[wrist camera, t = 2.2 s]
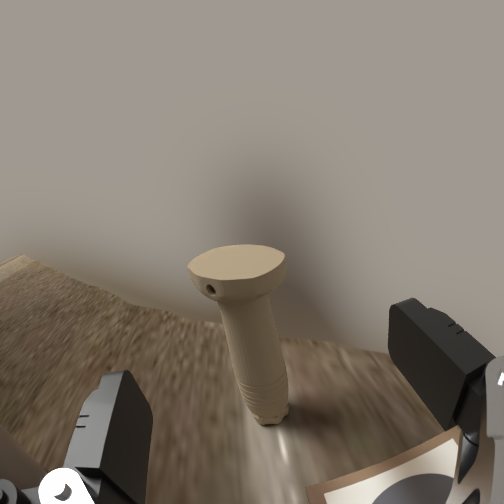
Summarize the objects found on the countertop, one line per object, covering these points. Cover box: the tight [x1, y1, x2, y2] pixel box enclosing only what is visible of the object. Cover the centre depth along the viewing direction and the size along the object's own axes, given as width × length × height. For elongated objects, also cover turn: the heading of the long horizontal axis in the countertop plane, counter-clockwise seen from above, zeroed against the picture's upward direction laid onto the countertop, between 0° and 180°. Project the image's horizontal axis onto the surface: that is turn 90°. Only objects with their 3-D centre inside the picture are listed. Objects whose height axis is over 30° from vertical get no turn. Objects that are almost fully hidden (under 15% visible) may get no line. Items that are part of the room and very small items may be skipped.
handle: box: [188, 245, 289, 425], centre depth 22 cm, size 5×6×15 cm
